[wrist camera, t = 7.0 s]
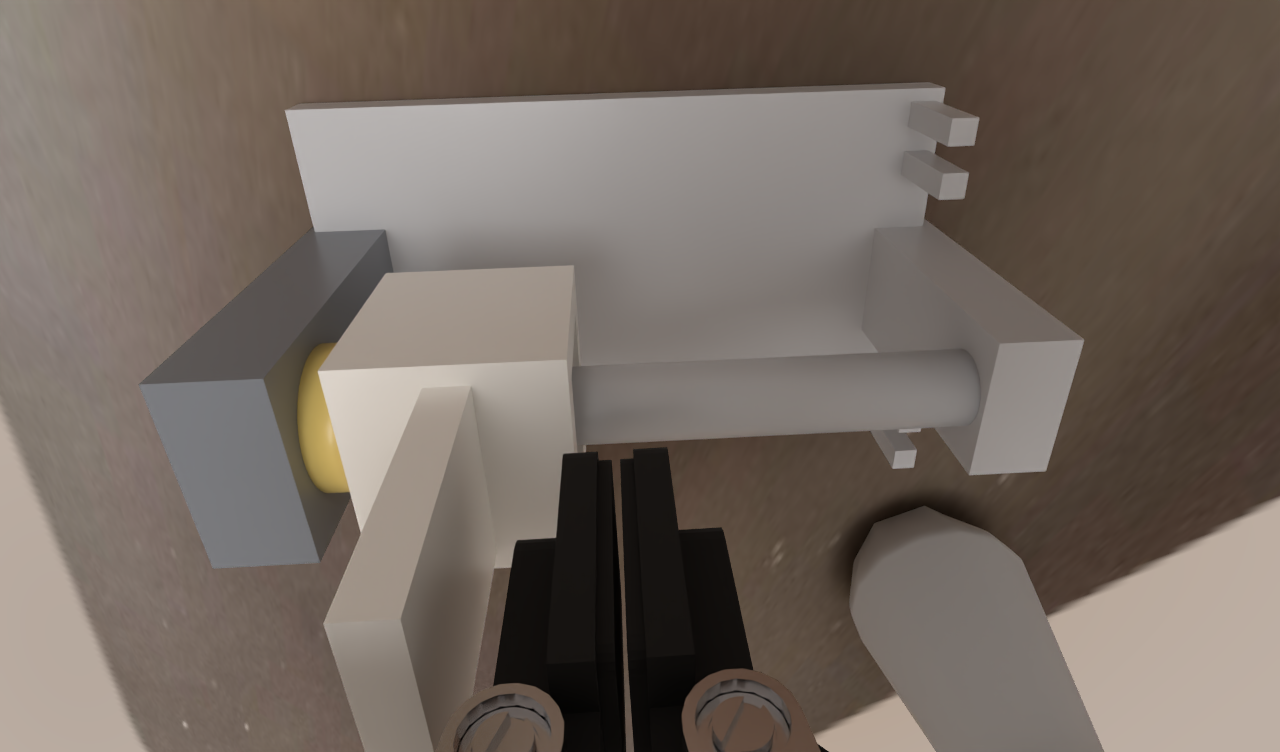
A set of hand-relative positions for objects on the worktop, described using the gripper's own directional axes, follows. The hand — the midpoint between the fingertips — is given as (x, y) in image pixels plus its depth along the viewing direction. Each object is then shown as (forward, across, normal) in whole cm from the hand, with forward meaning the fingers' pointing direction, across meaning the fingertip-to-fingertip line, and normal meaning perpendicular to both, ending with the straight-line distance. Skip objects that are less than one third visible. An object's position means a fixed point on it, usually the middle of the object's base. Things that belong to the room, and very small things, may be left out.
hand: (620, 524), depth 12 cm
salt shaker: (+11, -10, +11) cm, 19 cm away
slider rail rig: (+11, 0, 0) cm, 11 cm away
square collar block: (+6, +3, 0) cm, 6 cm away
